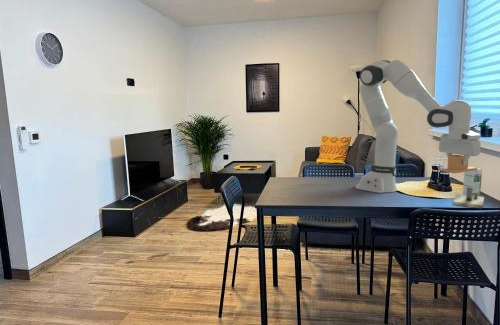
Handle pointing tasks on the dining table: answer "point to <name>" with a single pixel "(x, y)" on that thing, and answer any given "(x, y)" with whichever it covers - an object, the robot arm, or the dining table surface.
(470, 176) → the syrup box
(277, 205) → the dining table surface
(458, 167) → the flange plate
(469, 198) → the pins
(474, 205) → the post base
